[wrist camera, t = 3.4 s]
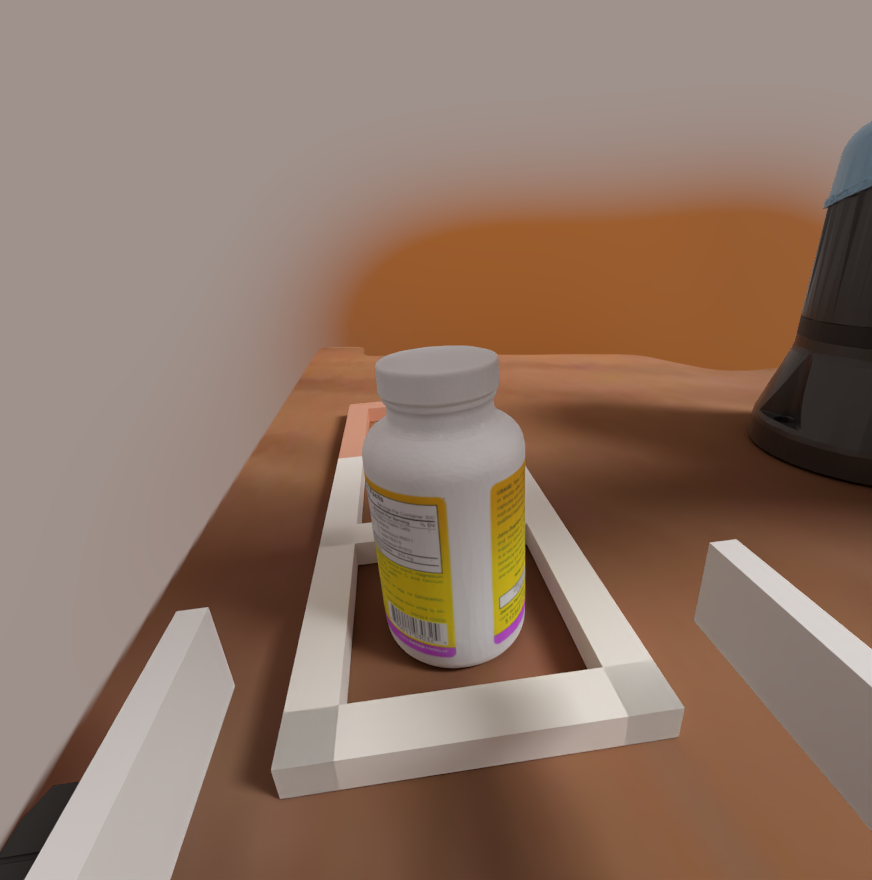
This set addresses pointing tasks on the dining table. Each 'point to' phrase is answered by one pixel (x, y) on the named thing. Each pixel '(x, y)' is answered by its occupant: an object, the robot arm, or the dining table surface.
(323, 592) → the rack
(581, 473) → the dining table surface
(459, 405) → the supplement bottle
